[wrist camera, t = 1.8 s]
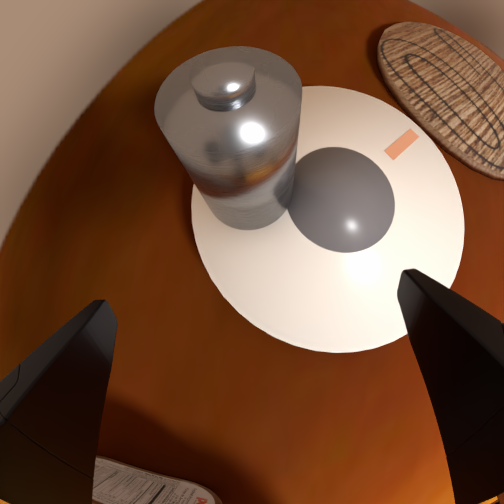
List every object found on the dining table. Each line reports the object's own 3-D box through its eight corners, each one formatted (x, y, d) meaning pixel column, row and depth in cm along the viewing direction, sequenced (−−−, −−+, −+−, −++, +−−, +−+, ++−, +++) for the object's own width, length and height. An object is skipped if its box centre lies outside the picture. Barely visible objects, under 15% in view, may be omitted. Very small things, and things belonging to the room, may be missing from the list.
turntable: (322, 406, 19) (326, 415, 17) (149, 195, 23) (139, 185, 21) (485, 226, 20) (498, 219, 18) (330, 71, 24) (332, 56, 22)
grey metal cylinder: (242, 248, 19) (200, 166, 8) (189, 186, 21) (120, 80, 10) (310, 192, 20) (338, 74, 9) (254, 137, 21) (235, 14, 10)
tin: (81, 464, 19) (31, 496, 11) (78, 440, 20) (23, 468, 12) (230, 506, 18) (214, 567, 10) (232, 481, 19) (214, 542, 10)
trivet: (430, 20, 28) (433, 12, 26) (544, 132, 23) (550, 126, 21) (332, 58, 27) (334, 46, 25) (497, 227, 21) (508, 221, 20)
